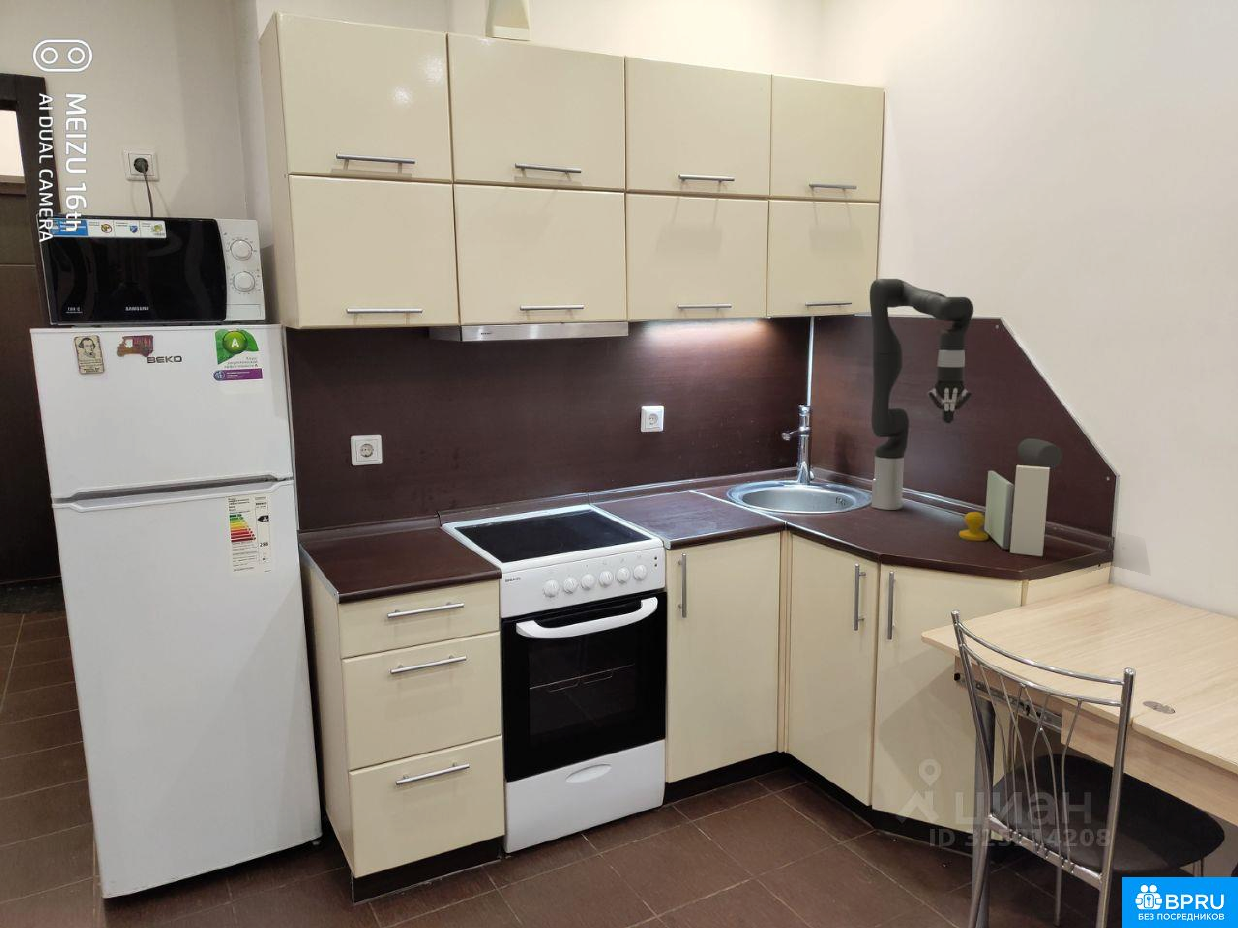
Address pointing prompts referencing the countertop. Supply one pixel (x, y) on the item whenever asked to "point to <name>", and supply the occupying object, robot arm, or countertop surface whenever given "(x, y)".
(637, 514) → the countertop surface
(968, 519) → the doorknob
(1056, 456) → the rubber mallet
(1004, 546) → the door
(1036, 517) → the panel
